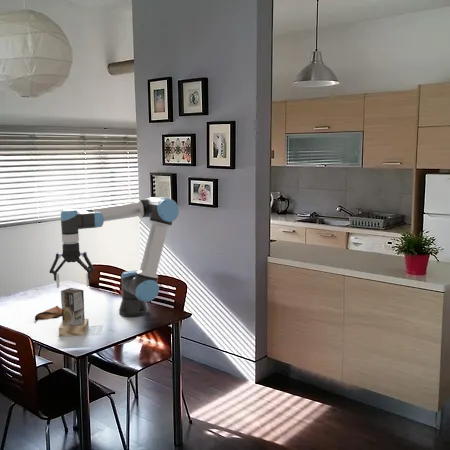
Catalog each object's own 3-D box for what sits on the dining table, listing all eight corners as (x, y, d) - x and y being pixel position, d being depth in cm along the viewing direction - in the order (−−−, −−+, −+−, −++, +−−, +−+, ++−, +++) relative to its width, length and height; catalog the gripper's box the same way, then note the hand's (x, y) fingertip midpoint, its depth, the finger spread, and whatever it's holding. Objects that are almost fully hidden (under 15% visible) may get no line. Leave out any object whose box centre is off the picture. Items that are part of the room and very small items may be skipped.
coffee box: (85, 322, 241) (84, 290, 238) (74, 326, 235) (73, 293, 233) (72, 319, 245) (71, 287, 243) (61, 323, 240) (60, 290, 238)
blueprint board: (103, 327, 250) (103, 324, 250) (100, 336, 236) (100, 334, 236) (61, 328, 247) (61, 326, 247) (56, 339, 233) (56, 336, 233)
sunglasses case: (48, 322, 256) (42, 310, 256) (38, 327, 259) (32, 316, 259) (69, 312, 273) (64, 301, 273) (60, 317, 275) (54, 306, 276)
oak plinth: (88, 326, 248) (88, 318, 247) (85, 334, 236) (85, 326, 235) (63, 327, 246) (63, 319, 245) (59, 336, 234) (58, 327, 234)
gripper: (98, 240, 240) (100, 283, 243) (44, 242, 237) (47, 285, 240) (97, 243, 233) (99, 287, 236) (41, 244, 230) (44, 289, 233)
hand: (73, 286), depth 238 cm, fingers open, 13 cm apart
